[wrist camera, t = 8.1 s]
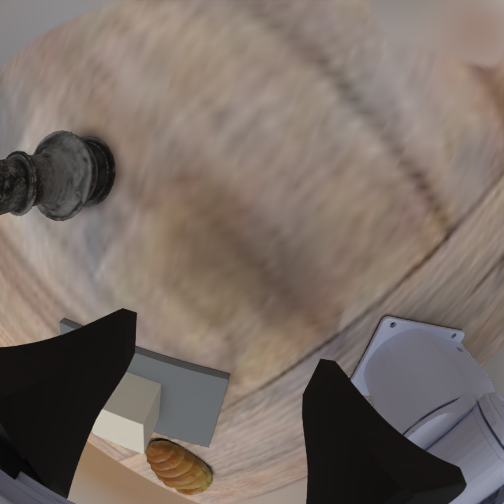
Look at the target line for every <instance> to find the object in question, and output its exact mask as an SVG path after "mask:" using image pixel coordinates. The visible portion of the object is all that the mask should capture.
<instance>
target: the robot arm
mask: <svg viewBox="0 0 504 504" xmlns="http://www.w3.org/2000/svg"><path fill="white" fill-rule="evenodd" d="M136 320H137V313H136V312H133V311H130V310H127V309H124V308H122V309H120V310H117V311H115V312H113V313H111V314H109V315H107V316H105V317H102V318H100V319H98V320H96V321H94V322H92V323H89V324H87V325H85V326H83V327H80V328H78V329H75V330H73V331H70V332H68V333H65V334H63V335H60V336H57V337H53V338H50V339H46V340H43V341H39V342H34V343H29V344H23V345H18V346H10V347H0V504H75V503H73V502H71V501H69V500H67V498H68V495H69V491H70V487H71V484H72V480H73V477H74V474H75V471H76V468H77V465H78V462H79V459H80V456H81V454H82V451H83V449H84V446H85V444H86V441H87V439H88V437H89V434H90V432H91V430H92V428H93V426H94V423H95V421H96V419H97V417H98V416H99V414H100V412H101V410H102V409H103V407H104V406H105V404H106V403H107V401H108V400H109V398H110V396H111V395H112V393H113V392H114V390H115V389H116V387H117V386H118V384H119V383H120V381H121V380H122V378H123V376H124V375H125V373H126V371H127V369H128V367H129V365H130V363H131V361H132V359H133V357H134V354H135V341H136ZM393 322H394V324H393V325H390V324H391V323H393ZM464 336H465V333H464V332H463V331H462V330H457V329H451V328H446V327H441V326H435V325H430V324H425V323H420V322H415V321H410V320H405V319H400V318H395V317H390V316H386V317H384V318H383V319H382V320H381V322H380V324H379V326H378V328H377V330H376V332H375V334H374V336H373V338H372V340H371V342H370V344H369V346H368V348H367V350H366V352H365V354H364V356H363V358H362V360H361V362H360V363H359V365H358V367H357V369H356V371H355V372H354V374H353V376H352V378H351V379H349V378H348V376H347V375H346V374H345V373H344V371H343V370H342V369H341V368H340V366H339V365H338V364H337V363H336V362H335V361H332V360H326V359H320V361H319V363H318V365H317V367H316V369H315V371H314V373H313V375H312V377H311V379H310V381H309V383H308V385H307V387H306V389H305V391H304V393H303V402H302V419H303V428H304V437H305V446H306V454H307V466H308V481H307V500H306V504H504V397H503V396H502V395H501V394H499V393H498V392H494V388H493V385H492V382H491V380H490V378H489V377H488V376H487V374H486V373H485V372H484V371H483V369H482V368H481V367H480V365H479V364H478V363H477V362H476V360H475V359H474V358H473V357H472V356H471V354H470V353H469V352H468V351H467V350H466V348H465V347H464V346H463V345H462V344H461V342H462V340H463V338H464ZM364 396H370V397H371V400H372V402H373V405H374V408H375V409H374V408H373V407H372V406H371V405H370V403H369V402H368V401H367V400H366V399H365V398H364Z"/></svg>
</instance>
